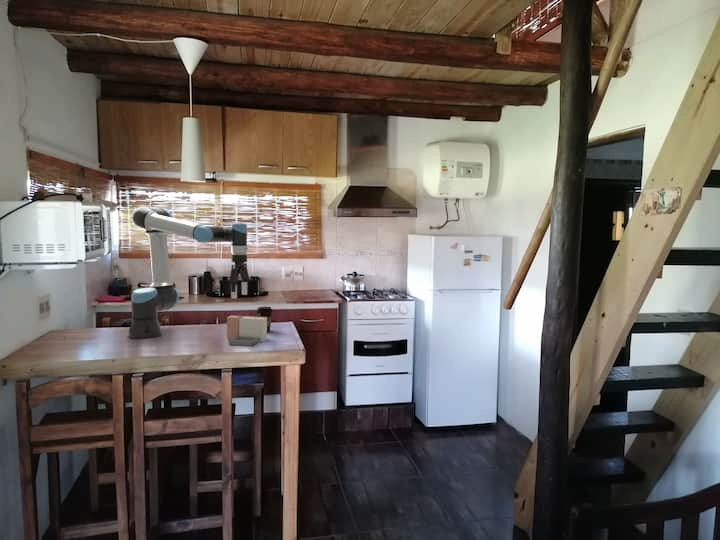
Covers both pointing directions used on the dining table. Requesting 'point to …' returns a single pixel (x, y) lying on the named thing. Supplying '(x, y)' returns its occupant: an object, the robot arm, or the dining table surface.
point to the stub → (233, 326)
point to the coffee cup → (265, 315)
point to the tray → (244, 341)
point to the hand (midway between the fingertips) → (239, 296)
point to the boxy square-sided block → (253, 327)
